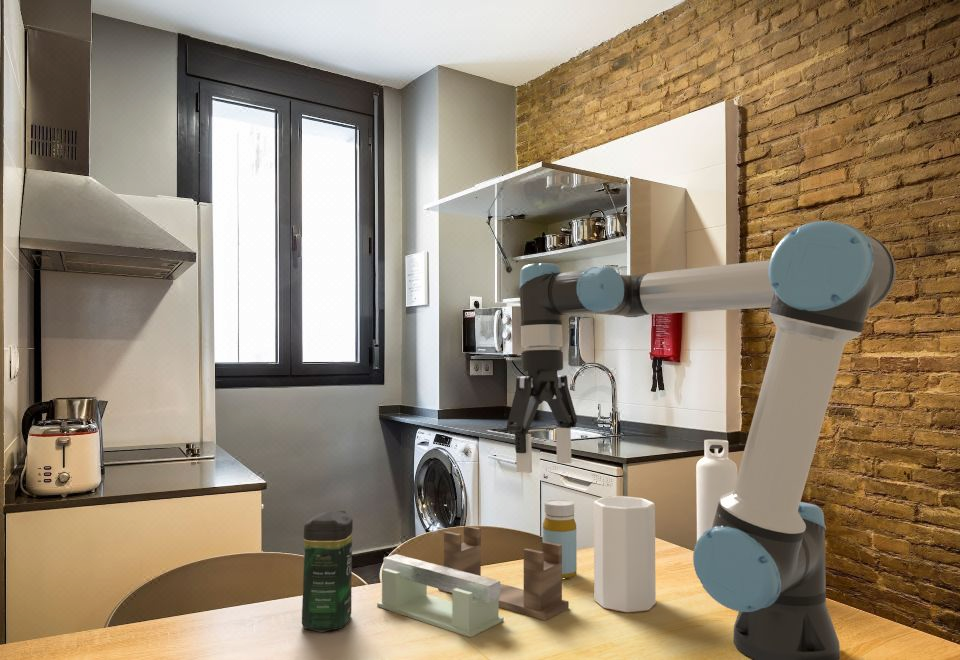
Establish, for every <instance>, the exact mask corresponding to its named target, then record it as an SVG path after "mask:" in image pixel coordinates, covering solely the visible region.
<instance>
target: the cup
mask: <svg viewBox="0 0 960 660" xmlns="http://www.w3.org/2000/svg"><path fill="white" fill-rule="evenodd" d="M655 505H656V504H655V503H654V502H653V501H650V500H648V499H645V498H643V497H635V496H625V495H616V496H615V495H613V496H602V497H600V498H598V499H595V500H594V501H593V556H594V557H593V564H594V565H593V570H594V571H593V584H594V585H593V588H594V591H593V592H594V593H593V594H594V595H593V596H594V597H593V599H594V601H595V602H596V603H598V604H599V605H600V606H601V607H602V608H603V609H606V610H611V611H616V612H620V613H621V612H622V613H626V614H627V613H629V614H630V613H641V612H648V611H650V610H651V608H653V606H655V605H656V603H657V600H656V598H657V597H656V595H657V593H656V506H655Z"/></svg>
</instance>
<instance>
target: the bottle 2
mask: <svg viewBox="0 0 960 660" xmlns="http://www.w3.org/2000/svg"><path fill="white" fill-rule="evenodd" d="M703 441H704V443H703V445H704V446H703V449H704V452H703V453H704V456H703V457H702V458H700V459H699V460H698V461H697V463H696V466H695V467H696V471H695V476H696V478H695V479H696V480H695V481H696V542H697V541H698V540H699V538H700V537H701V536H702V535H703V533H704V532H705V531H707V530H709V529H711V528H712V525H713V521H714V518H715V514H716V510H717V507H718V503H719V500H720V497H721V496H723V495H725V494H727V493H729V492H731V491H733V490H734V487H735V484H736V480H737V476H738V466H737V463H736V462H735V461H734V460H732V459H731V458H729V441H728V440H724V439H704V440H703ZM711 446H721V447H722V451H721V452H720V453H719V448H714V453H713V452H712V451H710V449H711V448H710V447H711Z"/></svg>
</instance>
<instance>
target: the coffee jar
mask: <svg viewBox="0 0 960 660" xmlns="http://www.w3.org/2000/svg"><path fill="white" fill-rule="evenodd" d="M353 521H354V520H353V517H352V516H351V515H350V514H349V513H347V511H345V510H329V509H327V510H322V512H320V513H317V514H316V515H313V516H312V517H310V519H308V520H307V521H306V522H305V523H304V526H303V576H302V577H303V578H302V579H303V581H302V606H301V607H302V608H301V625H302V627H303V629H307V630H311V631H314V632H322V633H323V632H328V631H331V630H337V629H338V630H339V629H342V628H344V626H345V625H346V624H347V623H348V622H349V620H350V618H351V616H352V575H353V573H352V571H353V570H352V569H353V563H352V562H353V533H354V532H353V530H354V528H353V525H354V523H353Z"/></svg>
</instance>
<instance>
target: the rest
mask: <svg viewBox="0 0 960 660" xmlns="http://www.w3.org/2000/svg"><path fill="white" fill-rule="evenodd" d="M381 570H382V571H381V573H382V575H381V578H382V579H381V592H382V593H381V601H379V602H377V603H376V604H377V605H376V606H377V607H378V608H381V609H385V610H387V611H390V612H393V613H396V614H399V615H402V616H405V617H409V618H411V619H414V620H417V621H420V622H423V623H425V624H429V625H432V626H434V627H438V628H441V629H444V630H447V631H450V632H453V633H456V634H458V635H462V636H465V637H468V638H472V637H474V636H476V635H478V634H480V633H482V632H485V631H486V630H488V629H491V628H493V627H494V626H497V625H498V624H500V623H503V622H504V617H503V616H500V615H499V608H500V607H499V599H497V600H495V601H492V602H490V603H486V602H482V601H479V600H476V599H473V593H472V592H468V591H465V590H461V589H458V588H455V589H453V590H452V593H451V594H452V597H451V598H452V599H451V600H447V599H443V598H441V597H436V596H434V595H429V594H427V593H428V590H427V589H428V588H427V587H428V586H427V585H423V584H420V583H416V582H413V581H410V580H406V579H403V578H400V572H397V571H394V570H390V569H384V568H383V569H381Z"/></svg>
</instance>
